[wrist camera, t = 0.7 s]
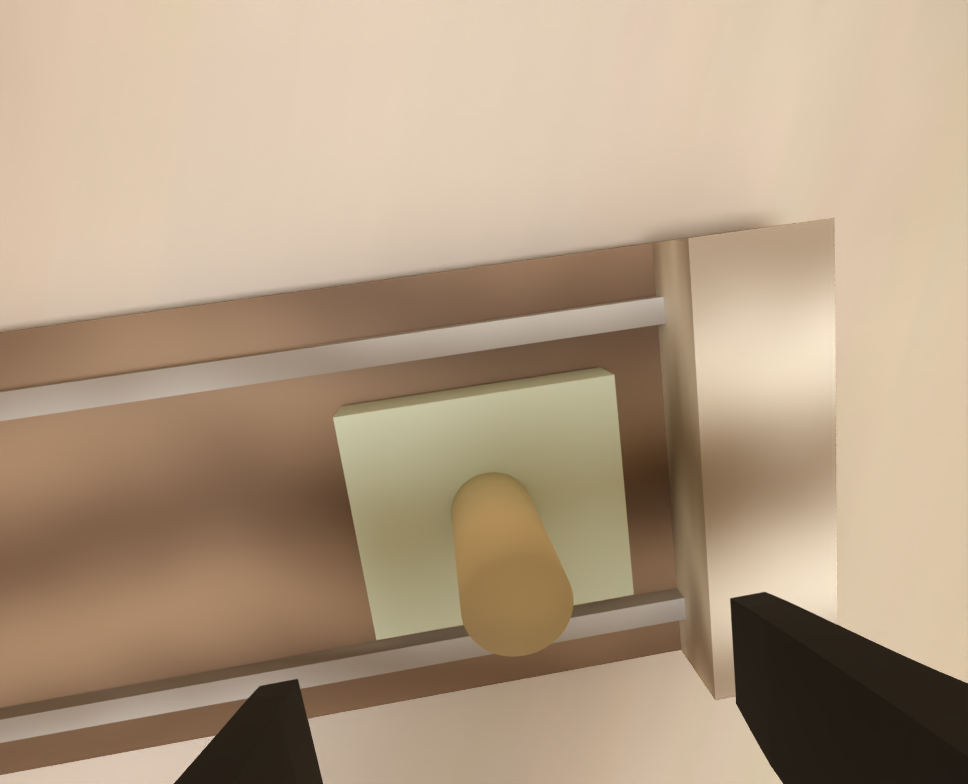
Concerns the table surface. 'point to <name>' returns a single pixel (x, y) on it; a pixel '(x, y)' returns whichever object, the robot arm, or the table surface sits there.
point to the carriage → (489, 507)
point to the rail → (324, 498)
